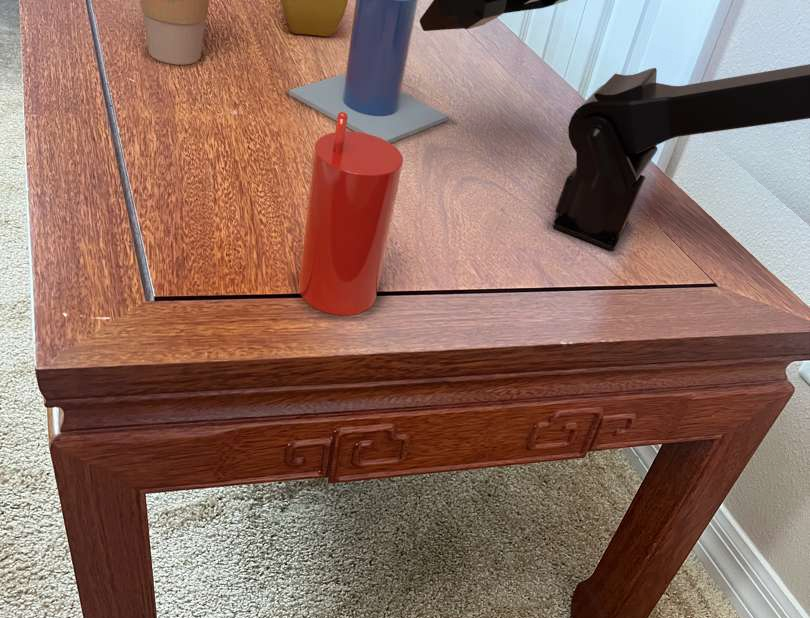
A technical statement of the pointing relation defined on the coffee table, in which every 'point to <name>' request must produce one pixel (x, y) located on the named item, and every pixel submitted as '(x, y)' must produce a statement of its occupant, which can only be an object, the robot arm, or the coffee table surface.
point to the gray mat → (389, 128)
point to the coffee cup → (175, 29)
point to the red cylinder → (348, 219)
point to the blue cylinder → (378, 55)
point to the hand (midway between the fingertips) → (450, 18)
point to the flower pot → (314, 15)
